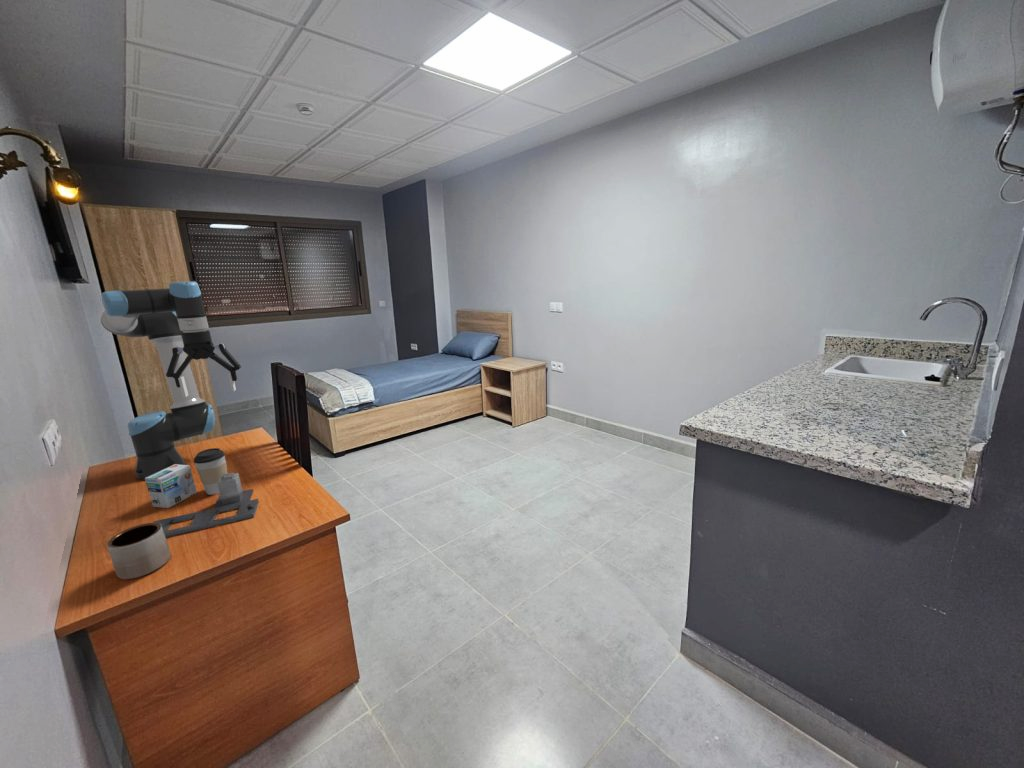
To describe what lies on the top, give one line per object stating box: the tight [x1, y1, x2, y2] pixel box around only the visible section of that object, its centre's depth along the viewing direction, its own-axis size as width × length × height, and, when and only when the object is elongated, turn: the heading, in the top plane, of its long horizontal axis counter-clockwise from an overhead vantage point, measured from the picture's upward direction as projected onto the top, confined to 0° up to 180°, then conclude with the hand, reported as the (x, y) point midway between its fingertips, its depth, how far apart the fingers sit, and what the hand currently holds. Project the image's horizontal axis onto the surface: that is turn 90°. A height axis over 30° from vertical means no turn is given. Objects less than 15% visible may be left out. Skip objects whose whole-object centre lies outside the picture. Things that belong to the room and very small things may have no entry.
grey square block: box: [217, 472, 244, 505], centre depth 137 cm, size 5×5×9 cm
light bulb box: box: [144, 464, 198, 509], centre depth 139 cm, size 11×7×11 cm, turn 168°
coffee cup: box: [193, 447, 229, 496], centre depth 144 cm, size 9×9×15 cm
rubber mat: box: [213, 488, 254, 508], centre depth 138 cm, size 10×10×1 cm
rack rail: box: [152, 498, 260, 538], centre depth 127 cm, size 10×28×2 cm, turn 114°
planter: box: [106, 522, 172, 580], centre depth 106 cm, size 11×11×10 cm
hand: (210, 393), depth 138 cm, fingers open, 13 cm apart
